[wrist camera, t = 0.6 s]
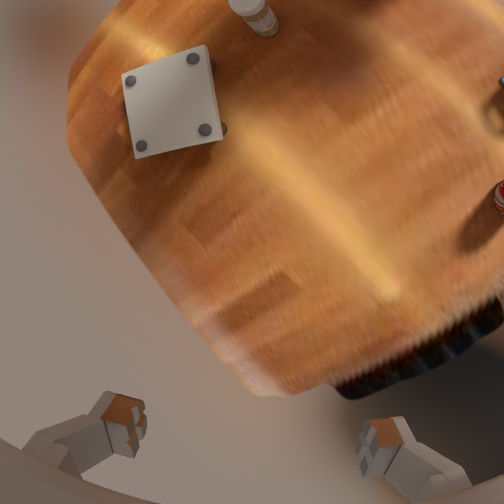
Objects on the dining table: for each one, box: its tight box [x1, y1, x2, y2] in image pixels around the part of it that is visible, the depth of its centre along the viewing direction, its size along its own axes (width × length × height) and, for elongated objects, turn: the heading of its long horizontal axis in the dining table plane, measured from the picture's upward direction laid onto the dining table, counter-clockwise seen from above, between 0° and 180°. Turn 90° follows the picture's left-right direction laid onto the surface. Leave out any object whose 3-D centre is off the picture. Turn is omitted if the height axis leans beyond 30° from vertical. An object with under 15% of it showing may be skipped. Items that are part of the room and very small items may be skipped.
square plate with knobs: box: [121, 45, 227, 159], centre depth 47 cm, size 16×16×7 cm
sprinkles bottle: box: [228, 0, 279, 37], centre depth 35 cm, size 5×5×14 cm
